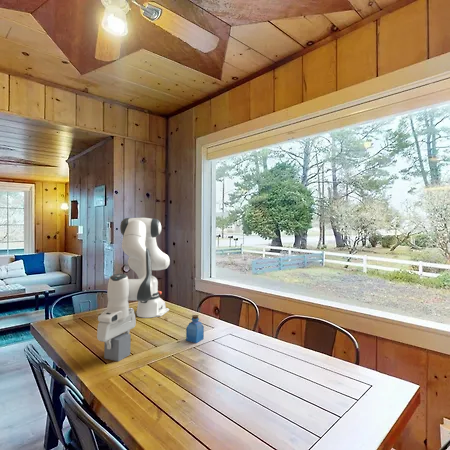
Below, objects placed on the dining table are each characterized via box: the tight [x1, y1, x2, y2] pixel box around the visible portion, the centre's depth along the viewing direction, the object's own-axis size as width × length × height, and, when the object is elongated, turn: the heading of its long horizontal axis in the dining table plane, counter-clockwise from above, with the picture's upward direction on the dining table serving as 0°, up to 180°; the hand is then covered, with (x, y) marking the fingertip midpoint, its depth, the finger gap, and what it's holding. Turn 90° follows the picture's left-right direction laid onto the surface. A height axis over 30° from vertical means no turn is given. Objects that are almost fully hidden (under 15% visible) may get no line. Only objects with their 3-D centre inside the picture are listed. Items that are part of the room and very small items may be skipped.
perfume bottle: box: [185, 314, 205, 344], centre depth 151 cm, size 6×6×12 cm
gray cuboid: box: [103, 332, 132, 362], centre depth 131 cm, size 8×8×9 cm
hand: (117, 344), depth 131 cm, fingers open, 8 cm apart
